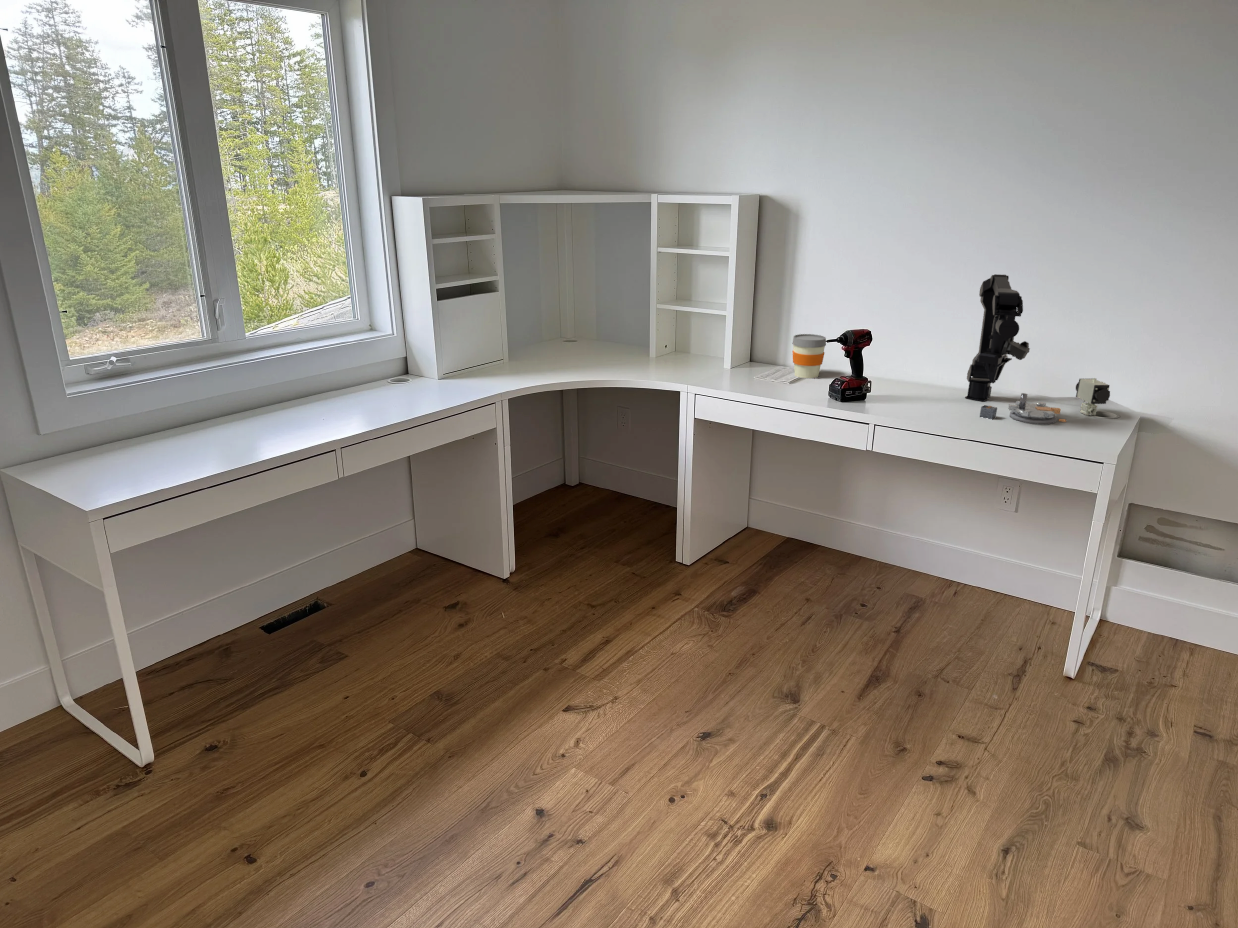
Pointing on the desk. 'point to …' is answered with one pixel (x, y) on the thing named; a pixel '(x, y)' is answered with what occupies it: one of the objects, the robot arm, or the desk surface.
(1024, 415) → the sprocket
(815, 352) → the reusable coffee cup
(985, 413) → the banded grey cube
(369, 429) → the desk surface
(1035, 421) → the plinth
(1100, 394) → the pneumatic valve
